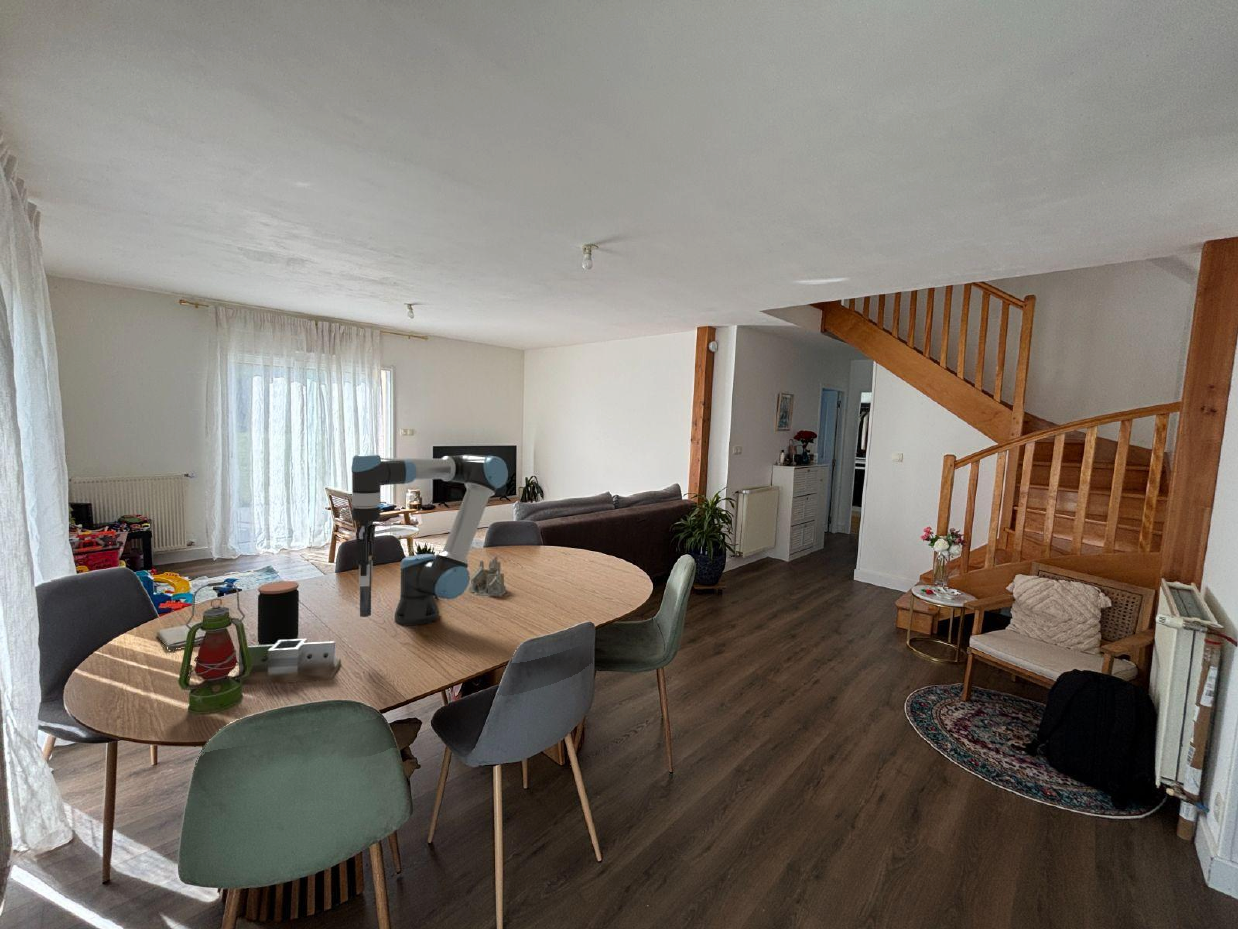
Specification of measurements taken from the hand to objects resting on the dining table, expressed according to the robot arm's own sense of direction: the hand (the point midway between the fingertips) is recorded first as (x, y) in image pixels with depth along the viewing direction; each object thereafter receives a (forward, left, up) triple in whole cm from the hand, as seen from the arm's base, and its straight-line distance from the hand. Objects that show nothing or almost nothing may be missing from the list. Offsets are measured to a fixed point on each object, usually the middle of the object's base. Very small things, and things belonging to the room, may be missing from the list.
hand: (365, 583), depth 150 cm
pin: (0, 0, -10) cm, 10 cm away
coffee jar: (+28, -15, -22) cm, 39 cm away
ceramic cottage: (-35, -60, -22) cm, 73 cm away
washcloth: (+56, -22, -23) cm, 64 cm away
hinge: (+17, +9, -21) cm, 28 cm away
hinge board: (+17, +9, -22) cm, 30 cm away
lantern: (+28, +23, -22) cm, 42 cm away
